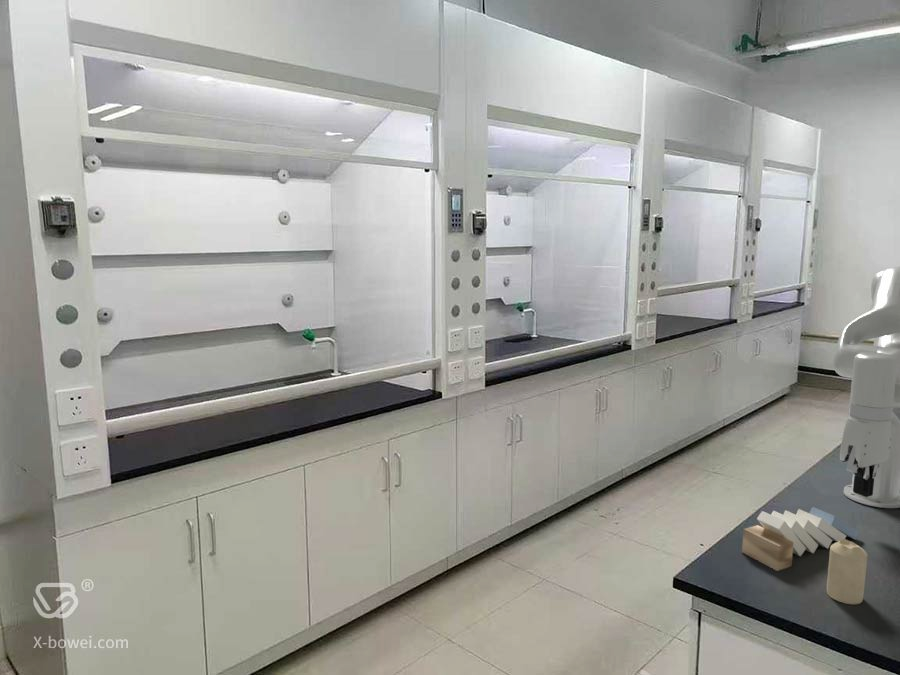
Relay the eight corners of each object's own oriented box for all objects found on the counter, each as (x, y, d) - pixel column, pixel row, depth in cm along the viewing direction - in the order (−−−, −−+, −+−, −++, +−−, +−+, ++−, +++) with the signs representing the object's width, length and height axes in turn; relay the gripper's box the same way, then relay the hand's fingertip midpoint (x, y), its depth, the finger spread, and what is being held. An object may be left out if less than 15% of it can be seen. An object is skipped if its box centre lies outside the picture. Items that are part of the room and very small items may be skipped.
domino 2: (795, 535, 131) (773, 510, 127) (818, 545, 127) (796, 520, 123) (790, 543, 131) (768, 518, 127) (813, 553, 126) (790, 528, 122)
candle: (870, 601, 110) (876, 548, 108) (845, 607, 108) (851, 552, 107) (842, 585, 115) (847, 533, 113) (818, 590, 113) (823, 538, 112)
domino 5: (836, 521, 137) (812, 506, 132) (859, 531, 132) (835, 516, 128) (833, 530, 136) (808, 515, 132) (856, 540, 132) (831, 525, 128)
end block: (756, 548, 129) (757, 525, 128) (791, 566, 122) (793, 541, 121) (741, 552, 127) (743, 528, 126) (777, 570, 120) (778, 546, 119)
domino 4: (823, 526, 135) (798, 508, 130) (846, 535, 130) (821, 518, 126) (819, 534, 135) (794, 517, 130) (842, 544, 130) (817, 527, 126)
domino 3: (809, 530, 133) (785, 510, 129) (832, 540, 128) (808, 519, 124) (805, 538, 133) (780, 518, 129) (827, 548, 128) (803, 528, 124)
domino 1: (783, 537, 130) (762, 510, 126) (806, 548, 125) (784, 520, 121) (778, 545, 129) (756, 518, 125) (800, 556, 125) (779, 529, 121)
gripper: (874, 402, 139) (867, 481, 142) (829, 412, 132) (822, 494, 136) (911, 411, 132) (902, 493, 135) (865, 421, 126) (857, 508, 129)
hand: (862, 493), depth 135 cm, fingers closed
